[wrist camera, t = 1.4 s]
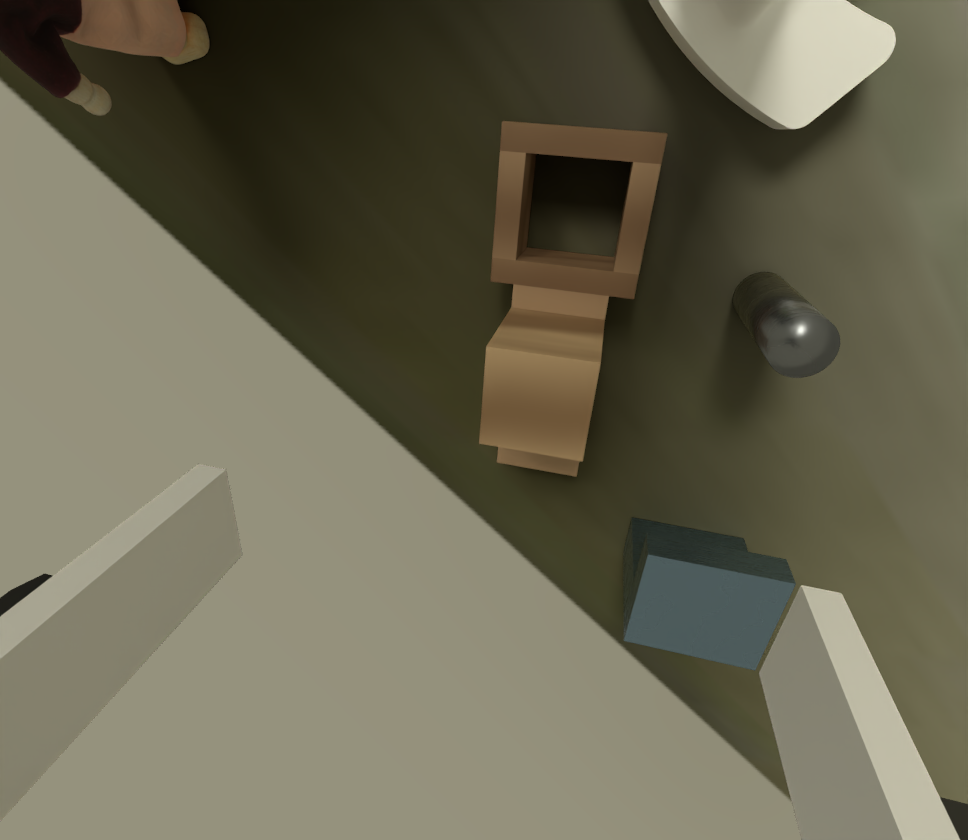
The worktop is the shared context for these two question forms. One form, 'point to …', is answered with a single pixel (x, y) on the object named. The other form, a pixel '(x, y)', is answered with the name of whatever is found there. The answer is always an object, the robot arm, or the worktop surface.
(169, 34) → the grandmother figurine
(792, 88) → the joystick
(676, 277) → the worktop surface
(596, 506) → the worktop surface
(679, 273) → the worktop surface
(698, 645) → the bracket
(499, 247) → the square loop handle
